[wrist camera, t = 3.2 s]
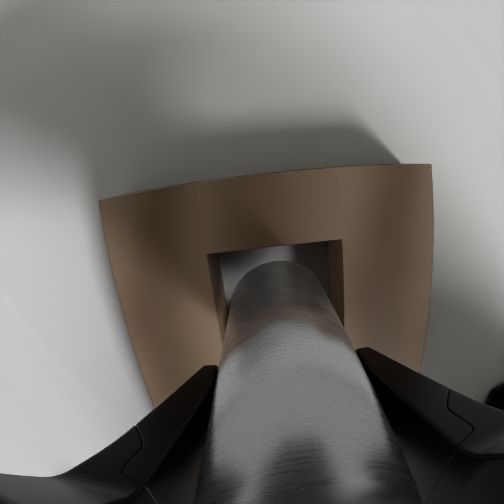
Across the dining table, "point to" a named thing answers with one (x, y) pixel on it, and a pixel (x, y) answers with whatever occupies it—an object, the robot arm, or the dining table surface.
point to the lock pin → (296, 405)
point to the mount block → (269, 235)
